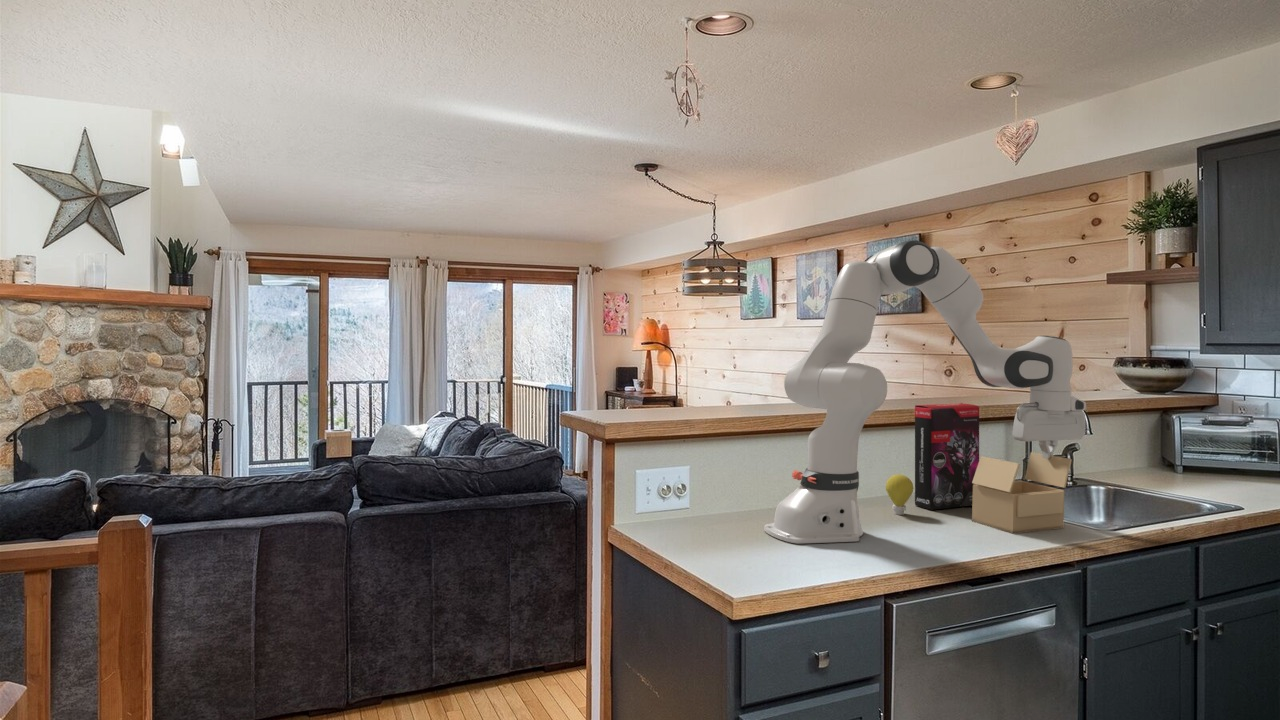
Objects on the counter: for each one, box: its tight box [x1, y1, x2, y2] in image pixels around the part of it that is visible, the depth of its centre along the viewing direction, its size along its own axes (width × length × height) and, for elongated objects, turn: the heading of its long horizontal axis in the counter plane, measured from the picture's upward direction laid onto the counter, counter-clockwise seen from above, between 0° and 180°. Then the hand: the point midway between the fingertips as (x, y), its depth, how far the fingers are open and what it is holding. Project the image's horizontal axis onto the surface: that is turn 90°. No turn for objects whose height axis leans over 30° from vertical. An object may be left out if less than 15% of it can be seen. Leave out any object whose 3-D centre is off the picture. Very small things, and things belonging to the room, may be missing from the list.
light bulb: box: [885, 473, 915, 516], centre depth 185 cm, size 7×7×10 cm
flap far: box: [1024, 451, 1073, 489], centre depth 179 cm, size 1×11×7 cm, turn 21°
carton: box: [971, 480, 1065, 535], centre depth 176 cm, size 16×13×9 cm
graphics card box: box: [914, 402, 980, 511], centre depth 194 cm, size 17×7×27 cm, turn 112°
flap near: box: [972, 455, 1021, 493], centre depth 173 cm, size 1×11×7 cm, turn 22°
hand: (1047, 458), depth 179 cm, fingers closed, pressing on flap far
